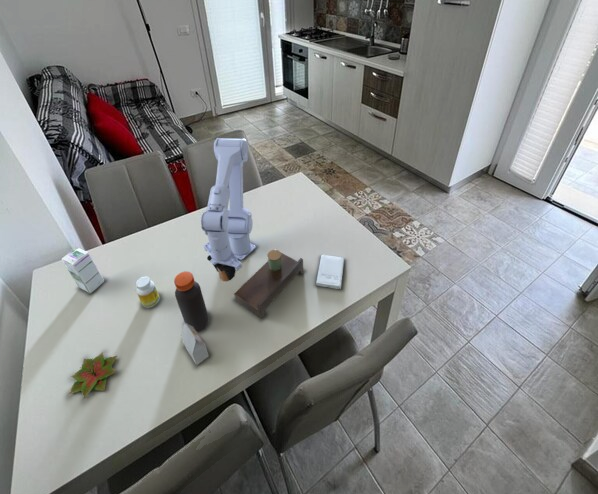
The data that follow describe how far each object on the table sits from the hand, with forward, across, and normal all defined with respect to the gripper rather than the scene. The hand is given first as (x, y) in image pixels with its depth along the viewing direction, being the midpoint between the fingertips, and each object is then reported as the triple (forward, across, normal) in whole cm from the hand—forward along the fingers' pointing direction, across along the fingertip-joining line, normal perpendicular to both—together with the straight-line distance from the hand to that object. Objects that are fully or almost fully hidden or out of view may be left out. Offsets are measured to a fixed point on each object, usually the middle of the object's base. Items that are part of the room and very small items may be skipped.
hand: (226, 274), depth 106 cm
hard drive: (+7, +24, +25) cm, 35 cm away
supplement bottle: (+7, -17, -18) cm, 26 cm away
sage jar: (+4, +8, +14) cm, 17 cm away
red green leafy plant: (+7, -9, -40) cm, 42 cm away
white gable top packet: (+7, +8, -20) cm, 23 cm away
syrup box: (+7, -39, -26) cm, 47 cm away
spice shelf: (+7, +10, +9) cm, 16 cm away
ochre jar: (+1, 0, 0) cm, 1 cm away
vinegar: (+7, +1, -14) cm, 16 cm away
